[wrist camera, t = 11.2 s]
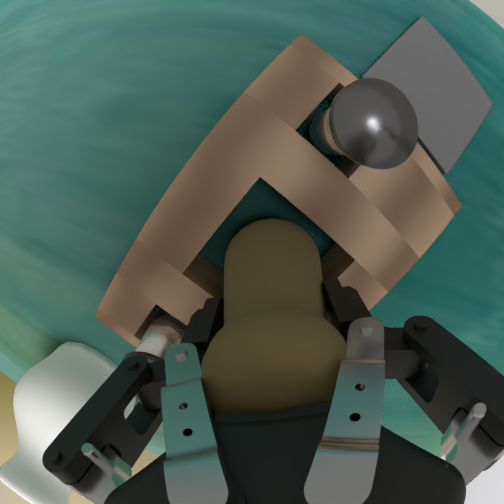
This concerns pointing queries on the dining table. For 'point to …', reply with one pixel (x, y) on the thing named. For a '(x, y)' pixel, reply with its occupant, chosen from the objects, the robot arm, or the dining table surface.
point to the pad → (434, 90)
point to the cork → (272, 325)
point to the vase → (51, 416)
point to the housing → (292, 188)
